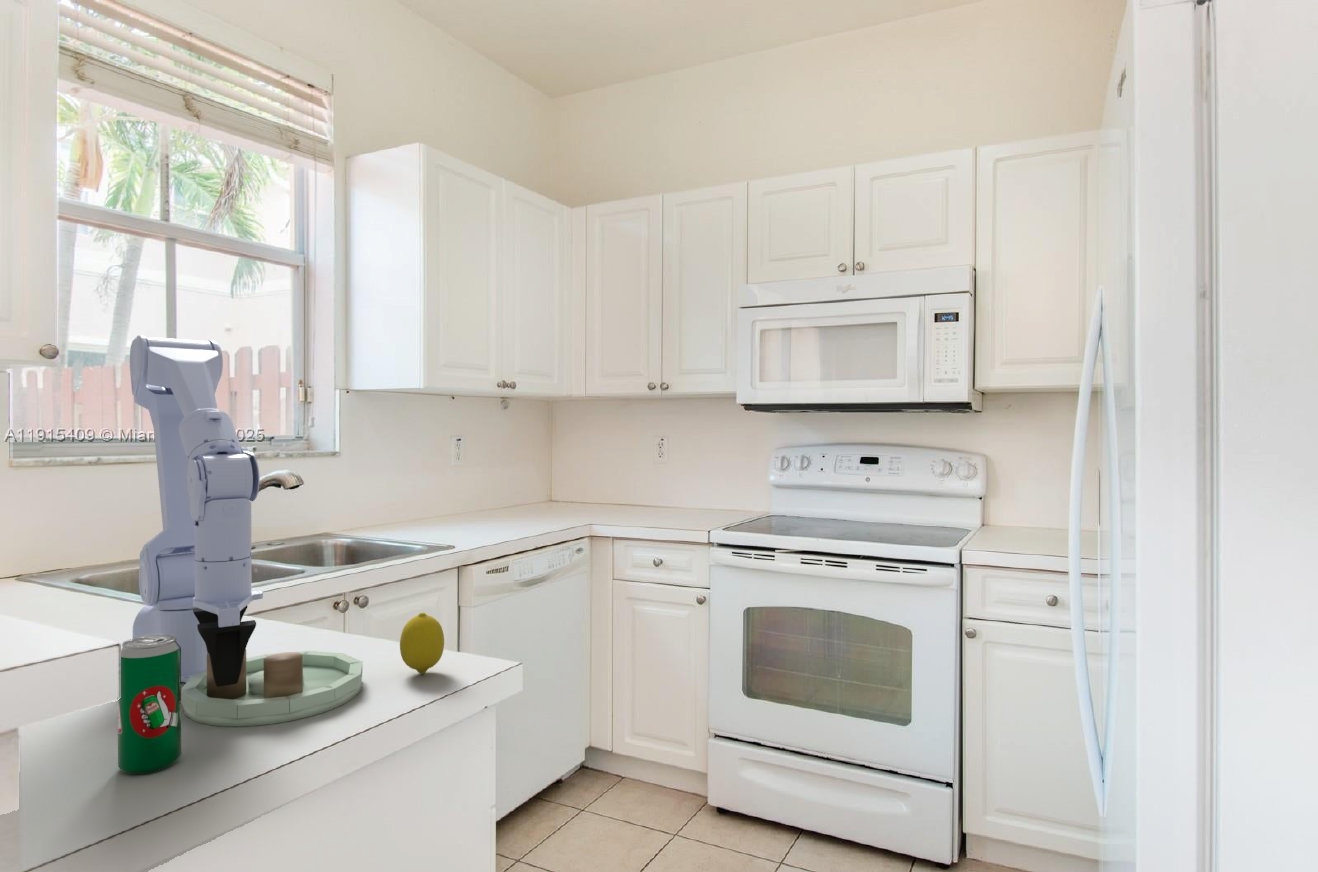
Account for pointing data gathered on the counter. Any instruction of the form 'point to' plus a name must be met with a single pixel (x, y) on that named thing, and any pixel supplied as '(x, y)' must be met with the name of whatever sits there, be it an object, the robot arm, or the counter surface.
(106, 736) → the counter surface
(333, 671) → the tray
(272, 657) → the bead
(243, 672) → the bead
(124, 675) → the soda can
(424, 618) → the lemon
